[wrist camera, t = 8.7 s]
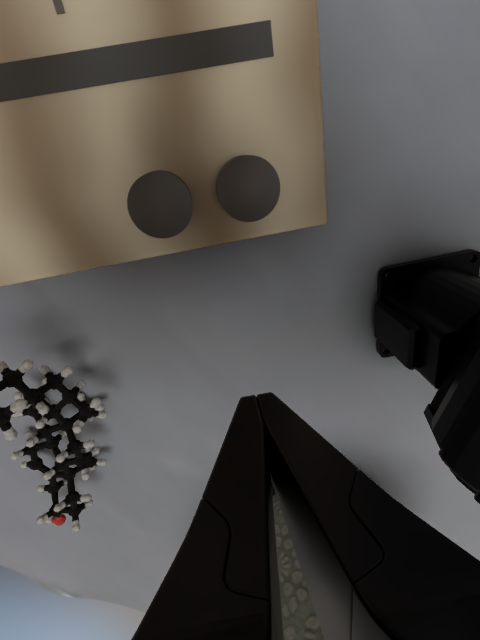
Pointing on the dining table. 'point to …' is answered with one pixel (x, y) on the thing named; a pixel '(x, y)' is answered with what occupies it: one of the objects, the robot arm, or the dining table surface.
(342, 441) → the dining table surface
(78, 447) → the molecular model
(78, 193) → the console panel
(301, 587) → the planter
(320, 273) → the dining table surface
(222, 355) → the dining table surface
